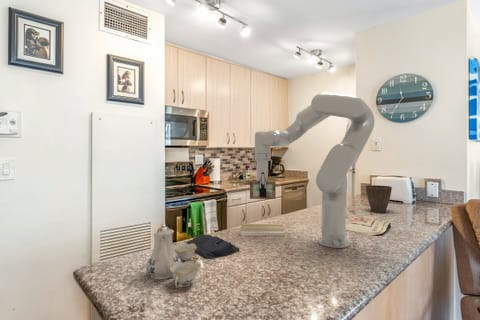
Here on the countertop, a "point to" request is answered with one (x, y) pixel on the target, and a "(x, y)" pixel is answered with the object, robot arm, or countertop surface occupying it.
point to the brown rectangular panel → (269, 190)
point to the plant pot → (378, 197)
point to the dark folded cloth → (212, 247)
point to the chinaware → (171, 259)
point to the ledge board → (262, 230)
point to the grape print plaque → (365, 224)
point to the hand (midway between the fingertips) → (262, 195)
